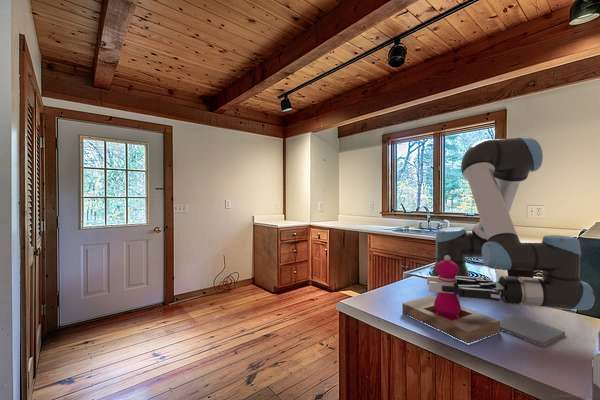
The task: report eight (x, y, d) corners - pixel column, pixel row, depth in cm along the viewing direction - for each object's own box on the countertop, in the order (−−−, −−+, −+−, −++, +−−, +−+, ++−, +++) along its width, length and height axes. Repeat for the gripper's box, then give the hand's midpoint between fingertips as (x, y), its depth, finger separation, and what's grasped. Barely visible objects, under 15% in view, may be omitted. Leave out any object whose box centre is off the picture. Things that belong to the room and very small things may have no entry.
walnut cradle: (402, 313, 92) (402, 303, 92) (431, 305, 99) (431, 295, 99) (468, 345, 73) (468, 332, 73) (499, 333, 79) (499, 320, 79)
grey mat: (492, 326, 82) (492, 323, 82) (515, 318, 88) (515, 315, 88) (542, 346, 72) (542, 342, 72) (565, 335, 77) (565, 331, 77)
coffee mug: (504, 292, 110) (504, 267, 110) (508, 287, 116) (508, 262, 116) (543, 300, 102) (543, 272, 101) (546, 294, 108) (546, 268, 107)
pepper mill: (435, 313, 91) (435, 251, 90) (461, 318, 87) (461, 254, 86) (432, 323, 84) (432, 256, 84) (460, 328, 81) (460, 259, 80)
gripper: (533, 317, 71) (431, 306, 79) (506, 292, 88) (425, 285, 96) (533, 287, 71) (431, 280, 78) (506, 268, 88) (425, 264, 95)
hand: (428, 283), depth 87 cm, fingers closed on pepper mill, 5 cm apart
